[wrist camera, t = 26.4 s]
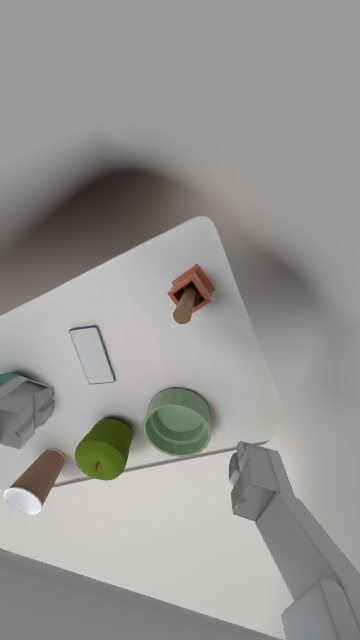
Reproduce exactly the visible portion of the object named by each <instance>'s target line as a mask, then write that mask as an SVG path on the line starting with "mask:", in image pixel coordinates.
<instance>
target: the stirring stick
mask: <svg viewBox="0 0 360 640" xmlns="http://www.w3.org/2000/svg"><path fill="white" fill-rule="evenodd" d="M197 289H198V288H197V287H196V285H195V284H194V283H193V281H191V282H189V284H188V285H187V287H186V289H185V291H184V293H183V295H182V297H181V299H180V301H179V303H178V305H177V307H176V309H175V311H174V313H173V317H174V319H175V321H176V322H177V323H179V324H186V323H188V322H189V321H190V319H191V316H192V311H193V307H194V302H195V298H196V294H197Z"/></svg>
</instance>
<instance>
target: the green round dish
mask: <svg viewBox="0 0 360 640" xmlns="http://www.w3.org/2000/svg"><path fill="white" fill-rule="evenodd" d="M143 431H144V434H145V436H146V438H147V440H148V441H149V443H150V444H151V445H152V446H153V447H154V448H156V449H158V450H159V451H161V452H163V453H166V454H168V455H171V456H179V457H185V456H192V455H194V454H197V453H199V452H201V451H202V450H203V449H205V448H206V447H207V445H208V443H209V441H210V436H211V420H210V410H209V407H208V405H207V404H206V402H205V401H204V400H203V399H202V397H200V396H199V395H197V394H196V393H194V392H192V391H189V390H186V389H179V388H172V389H167V390H164V391H162V392H160V393H158V394H157V395H156V396H155V397H154V398H153V399H152V400H151V403H150V406H149V409H148V411H147V414H146V417H145V420H144V423H143Z"/></svg>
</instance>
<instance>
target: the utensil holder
mask: <svg viewBox="0 0 360 640" xmlns="http://www.w3.org/2000/svg"><path fill="white" fill-rule="evenodd" d="M191 281H193V283H194V284H195V285H196V287H197V288H198V289H197V294H196V298H195V302H194V307H193V311H192V313H194V312H195V311H197V310H198V309H200V308H201V307H203V306H204V305H206V304H207V303H209V302H210V301H211V294H210V293H211V292H213V291H214V288H213V287H212V285H211V284H210V282H209V281H208V279H207V278H206V276H205V275H204V273H203V272H202V270H201V269H200V268H199V266H198V265H197V264H196V265H195V266H193V267H192V268H191V269H189V270H188V271H187V272H185V273H184V274H183V275H181V276H180V277H178V278H177V279H176V280H174V281H173V282H172V284H173V285H174V286H173V287H172V288H171V290H170V291H169V292H168V295H169V296H170V297H171V299H172V300H173V301H174V303H175V304H176V305H178V303H179V301H180V299H181V297H182V295H183V293H184V291H185V289H186V287H187V285H188V284H189V282H191Z"/></svg>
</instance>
